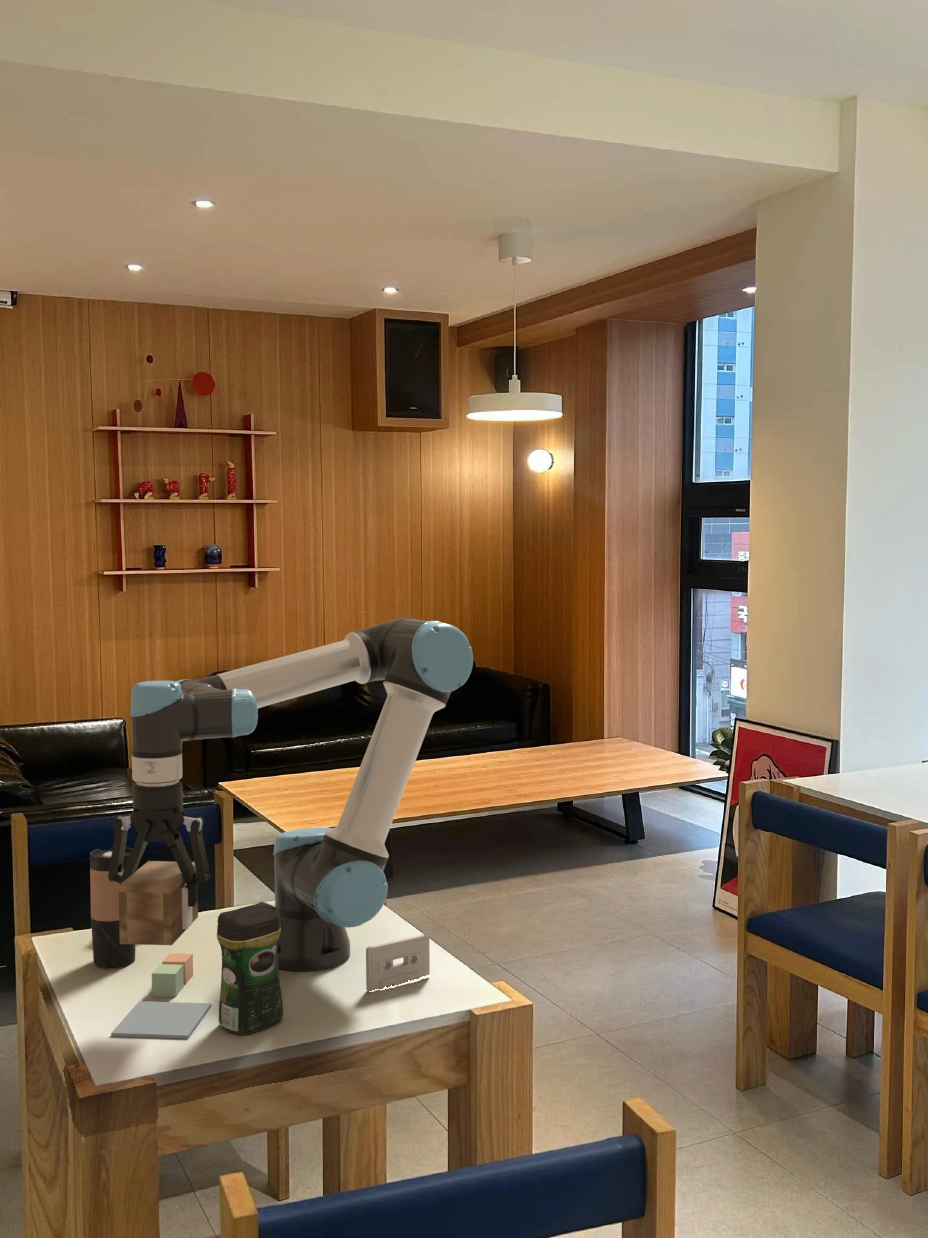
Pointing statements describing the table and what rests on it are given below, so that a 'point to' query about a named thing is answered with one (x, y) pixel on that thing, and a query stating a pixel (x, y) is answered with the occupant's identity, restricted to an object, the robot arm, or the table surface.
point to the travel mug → (107, 913)
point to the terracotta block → (181, 960)
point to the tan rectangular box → (152, 905)
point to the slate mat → (162, 1020)
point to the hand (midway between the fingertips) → (160, 925)
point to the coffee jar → (249, 968)
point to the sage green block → (167, 980)
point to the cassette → (409, 969)
